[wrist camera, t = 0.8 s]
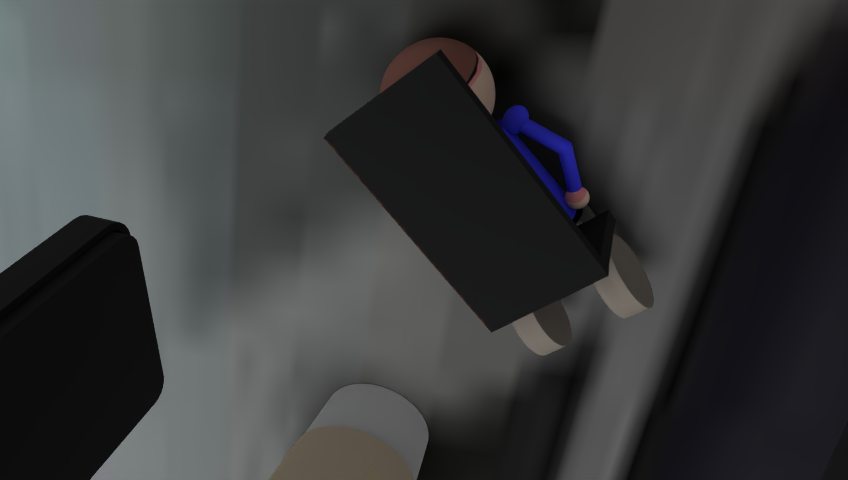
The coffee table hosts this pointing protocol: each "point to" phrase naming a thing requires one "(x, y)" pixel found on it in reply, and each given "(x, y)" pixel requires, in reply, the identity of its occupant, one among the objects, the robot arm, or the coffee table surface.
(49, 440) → the robot arm
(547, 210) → the figurine character
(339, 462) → the coffee cup
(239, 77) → the coffee table surface
